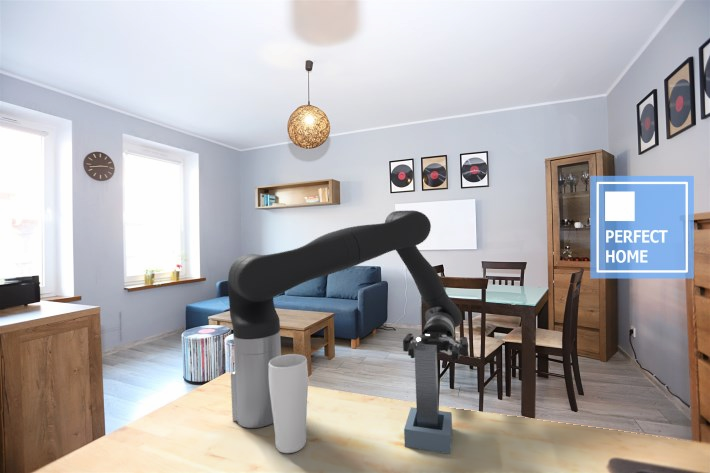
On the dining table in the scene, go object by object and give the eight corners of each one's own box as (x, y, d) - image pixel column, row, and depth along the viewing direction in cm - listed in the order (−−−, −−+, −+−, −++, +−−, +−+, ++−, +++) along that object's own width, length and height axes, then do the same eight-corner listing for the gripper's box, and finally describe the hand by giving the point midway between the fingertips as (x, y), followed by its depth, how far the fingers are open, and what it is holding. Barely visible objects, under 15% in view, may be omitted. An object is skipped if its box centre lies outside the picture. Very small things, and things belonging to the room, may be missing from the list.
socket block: (404, 446, 58) (404, 429, 58) (411, 422, 65) (410, 407, 65) (450, 453, 56) (449, 435, 56) (452, 428, 63) (451, 412, 63)
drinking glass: (302, 459, 55) (299, 368, 55) (264, 456, 57) (260, 367, 57) (315, 435, 62) (312, 354, 62) (281, 432, 63) (277, 352, 63)
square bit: (417, 441, 59) (414, 350, 59) (420, 429, 63) (417, 343, 62) (438, 444, 58) (434, 351, 58) (439, 432, 62) (436, 345, 61)
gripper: (410, 317, 88) (398, 335, 73) (467, 319, 84) (467, 339, 68) (411, 345, 88) (399, 370, 73) (468, 350, 84) (469, 376, 68)
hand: (432, 355), depth 71 cm, fingers open, 8 cm apart
